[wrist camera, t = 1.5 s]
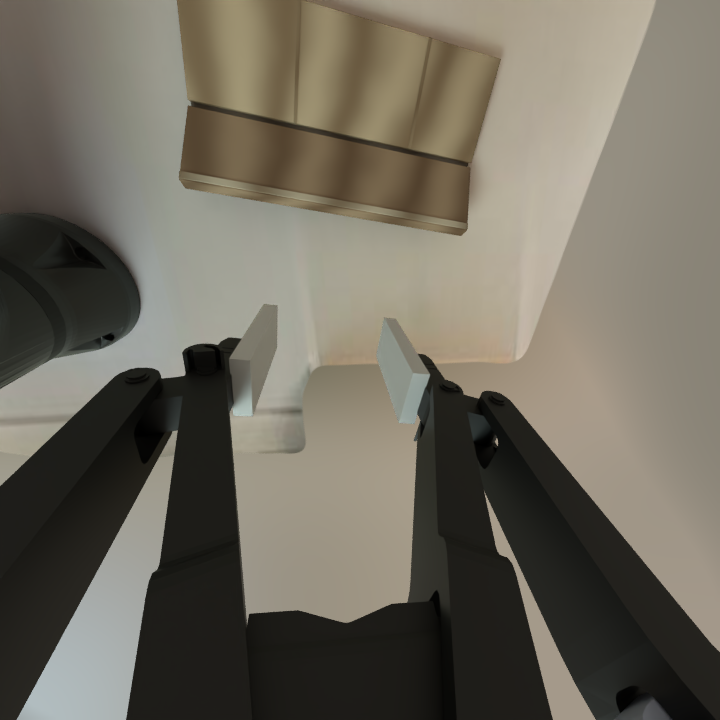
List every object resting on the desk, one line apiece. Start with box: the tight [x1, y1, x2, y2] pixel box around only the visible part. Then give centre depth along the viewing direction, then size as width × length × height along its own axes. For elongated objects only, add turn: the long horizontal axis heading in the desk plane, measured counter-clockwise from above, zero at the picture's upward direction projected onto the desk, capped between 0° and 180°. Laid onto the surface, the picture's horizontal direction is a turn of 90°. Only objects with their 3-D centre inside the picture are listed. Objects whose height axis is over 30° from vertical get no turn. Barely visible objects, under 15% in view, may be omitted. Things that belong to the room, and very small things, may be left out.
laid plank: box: [177, 0, 501, 167], centre depth 26 cm, size 28×8×1 cm, turn 81°
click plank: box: [179, 106, 470, 236], centre depth 27 cm, size 28×7×1 cm
